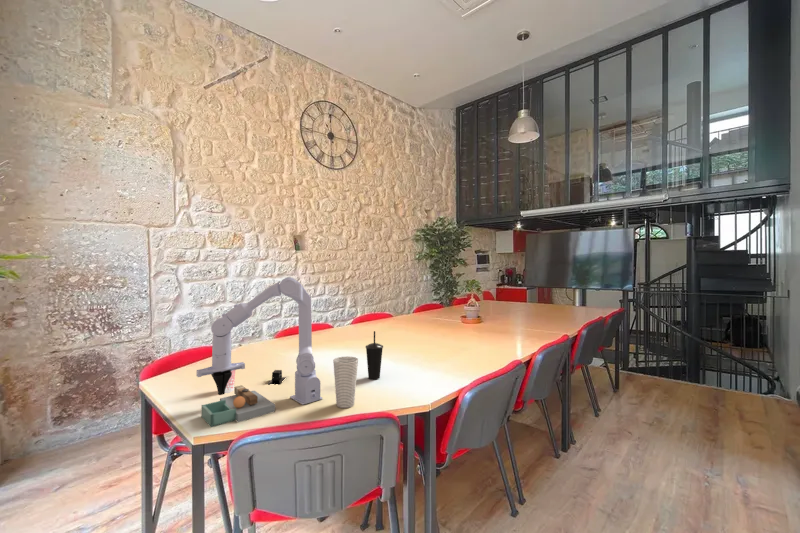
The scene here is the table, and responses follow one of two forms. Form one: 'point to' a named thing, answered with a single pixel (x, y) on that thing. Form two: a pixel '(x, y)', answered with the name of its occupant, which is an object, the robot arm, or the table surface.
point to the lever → (246, 394)
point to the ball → (239, 402)
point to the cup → (345, 380)
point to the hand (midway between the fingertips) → (221, 393)
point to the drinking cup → (374, 359)
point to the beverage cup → (230, 383)
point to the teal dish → (218, 413)
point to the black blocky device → (276, 377)
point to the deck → (251, 407)
